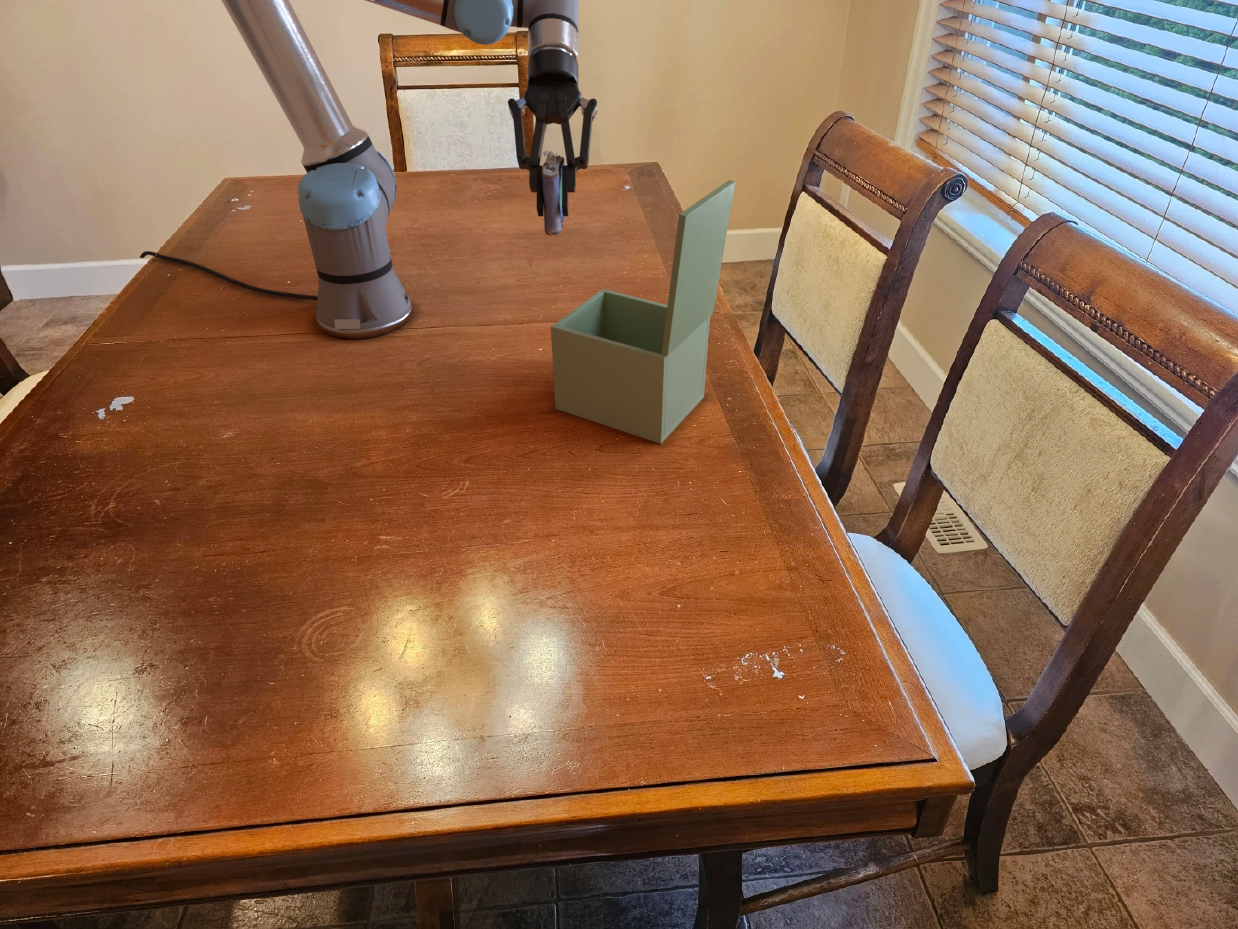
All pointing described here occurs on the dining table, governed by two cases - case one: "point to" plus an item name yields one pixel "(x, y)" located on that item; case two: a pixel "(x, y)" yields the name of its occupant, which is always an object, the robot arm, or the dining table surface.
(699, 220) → the lid
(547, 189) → the flask
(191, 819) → the dining table surface
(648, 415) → the chest
